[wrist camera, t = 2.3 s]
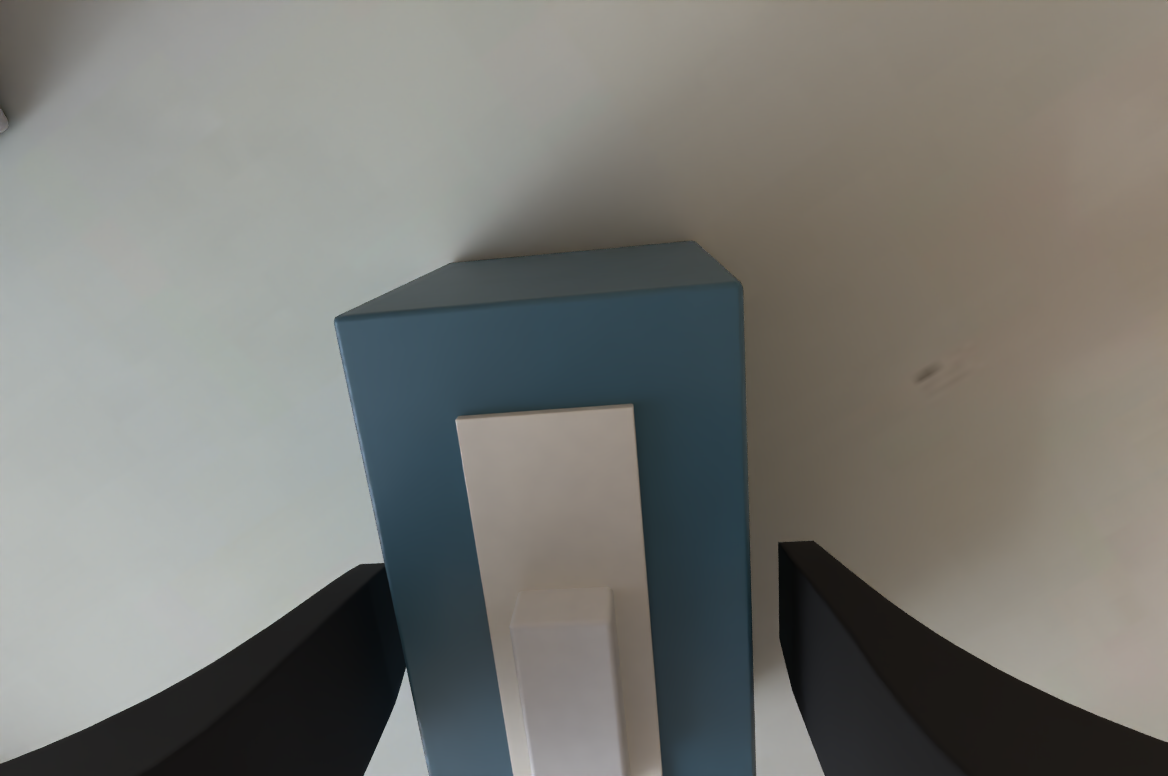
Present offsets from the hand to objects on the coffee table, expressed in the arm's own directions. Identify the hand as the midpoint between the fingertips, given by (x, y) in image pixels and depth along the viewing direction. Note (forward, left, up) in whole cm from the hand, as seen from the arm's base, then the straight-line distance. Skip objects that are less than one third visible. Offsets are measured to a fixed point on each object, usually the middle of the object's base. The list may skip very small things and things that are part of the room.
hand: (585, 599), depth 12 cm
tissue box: (0, 0, -4) cm, 4 cm away
